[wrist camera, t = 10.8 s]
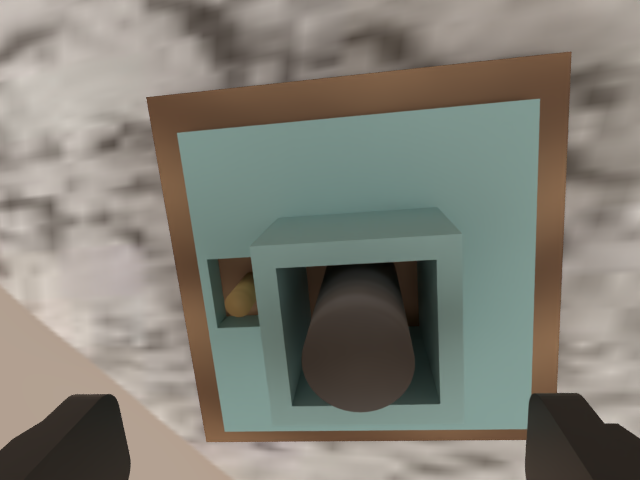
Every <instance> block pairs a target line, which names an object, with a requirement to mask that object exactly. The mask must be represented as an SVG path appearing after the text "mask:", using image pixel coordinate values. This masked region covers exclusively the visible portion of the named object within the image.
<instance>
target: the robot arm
mask: <svg viewBox="0 0 640 480" xmlns="http://www.w3.org/2000/svg"><path fill="white" fill-rule="evenodd" d="M130 464H131V463H130V455H129V450H128V445H127V441H126V436H125V432H124V427H123V422H122V418H121V413H120V408H119V404H118V401H117V399H116V398H115V397H114V396H113V395H111V394H91V395H89V394H88V395H87V394H75V395H71V396H70V397H68V398H67V399H66V400H65V401H63V402H62V403H61V404H60V405H59V406H58V407H57V408H56V409H55V410H54V411H53V412H52V413H51V414H50V415H48V416H47V417H46V418H45V419H44V420H43V421H42V422H40V423H39V424H37V425H35V426H33V427H32V428H30V429H29V430H27V431H25V432H24V433H22V434H20V435H19V436H17V437H15V438H14V439H12V440H11V441H10V442H9V443H8V444H7V445H6V446H5V447H3V449H1V450H0V480H128V478H129V474H130ZM525 473H526V480H640V438H638V437H637V436H635V435H634V434H632V433H631V432H629V431H628V430H626V429H625V428H623V427H622V426H620V425H619V424H604V423H603V421H602V420H601V419H600V418H599V416H598V415H597V414H596V413H595V411H594V410H593V409H592V408H591V406H590V405H589V404H588V403H587V401H586V400H585V399H584V398H583V397H582V396H581V395H580V394H578V393H533V394H532V395H531V397H530V400H529V407H528V423H527V440H526V456H525Z"/></svg>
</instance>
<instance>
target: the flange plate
mask: <svg viewBox="0 0 640 480" xmlns="http://www.w3.org/2000/svg"><path fill="white" fill-rule="evenodd" d="M539 118H540V99H531V100H520V101H509V102H499V103H488V104H478V105H467V106H456V107H446V108H435V109H425V110H414V111H403V112H393V113H382V114H372V115H361V116H351V117H340V118H329V119H319V120H308V121H298V122H287V123H276V124H266V125H255V126H245V127H234V128H223V129H213V130H202V131H192V132H181V133H177V137H178V143H179V149H180V155H181V162H182V168H183V174H184V180H185V187H186V193H187V199H188V205H189V212H190V218H191V224H192V230H193V237H194V243H195V249H196V255H197V261H198V268H199V274H200V280H201V286H202V293H203V299H204V305H205V311H206V318H207V324H208V330H209V336H210V343H211V349H212V355H213V361H214V367H215V374H216V380H217V386H218V392H219V399H220V405H221V411H222V417H223V424H224V430H225V432H245V431H369V430H492V429H527V423H528V407H529V400H530V397H531V387H532V354H533V320H534V286H535V253H536V219H537V185H538V152H539ZM242 257H251V262H252V270H253V278H254V285H255V293H256V301H257V308H258V315H248V316H243V317H235V316H226V311H225V304H224V298H223V291H222V284H221V277H220V271H219V264H218V259H225V258H242ZM402 261H417V280H418V307H419V326H408V328H409V332H410V337H411V342H412V346H413V351H414V357H415V370H414V375H413V378H412V381H411V383H410V385H409V387H408V388H407V390H406V391H405V393H404V394H403V395H402V396H401V397H400V398H399V399H397V400H396V401H395V402H393V403H392V404H390V405H389V406H386V407H384V408H382V409H379V410H376V411H370V412H350V411H345V410H342V409H339V408H336V407H334V406H332V405H330V404H328V403H327V402H325V401H324V400H322V399H321V398H320V397H319V396H318V395H317V394H316V393H315V392H314V391H313V390H312V389H311V387H310V386H309V384H308V382H307V380H306V378H305V376H304V373H303V368H302V350H303V346H304V343H305V339H306V336H307V332H308V329H309V326H310V322H311V310H310V300H309V290H308V280H307V270H306V267H309V266H328V265H347V264H365V263H384V262H402Z"/></svg>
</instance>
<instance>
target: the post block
mask: <svg viewBox="0 0 640 480" xmlns="http://www.w3.org/2000/svg"><path fill="white" fill-rule="evenodd" d="M570 73H571V52H564V53H554V54H545V55H536V56H526V57H517V58H508V59H499V60H489V61H480V62H471V63H461V64H452V65H443V66H433V67H424V68H415V69H406V70H396V71H387V72H378V73H368V74H359V75H350V76H340V77H331V78H322V79H312V80H303V81H294V82H285V83H275V84H266V85H257V86H247V87H238V88H229V89H219V90H210V91H201V92H192V93H182V94H173V95H164V96H154V97H146V99H147V104H148V110H149V116H150V121H151V127H152V133H153V139H154V144H155V150H156V156H157V162H158V167H159V173H160V179H161V184H162V190H163V196H164V202H165V207H166V213H167V219H168V224H169V230H170V236H171V242H172V247H173V253H174V259H175V265H176V270H177V276H178V282H179V287H180V293H181V299H182V305H183V310H184V316H185V322H186V328H187V333H188V339H189V345H190V350H191V356H192V362H193V368H194V373H195V379H196V385H197V390H198V396H199V402H200V408H201V413H202V419H203V425H204V431H205V436H206V442H278V441H428V440H527V429H492V430H369V431H245V432H225V430H224V424H223V417H222V411H221V405H220V399H219V392H218V386H217V380H216V374H215V367H214V361H213V355H212V349H211V343H210V336H209V330H208V324H207V318H206V311H205V305H204V299H203V293H202V286H201V280H200V274H199V268H198V261H197V255H196V249H195V243H194V237H193V230H192V224H191V218H190V212H189V205H188V199H187V193H186V187H185V180H184V174H183V168H182V162H181V155H180V149H179V143H178V137H177V133H181V132H192V131H202V130H213V129H223V128H234V127H245V126H255V125H266V124H276V123H287V122H298V121H308V120H319V119H329V118H340V117H351V116H361V115H372V114H382V113H393V112H403V111H414V110H425V109H435V108H446V107H456V106H467V105H478V104H488V103H499V102H509V101H520V100H531V99H540V118H539V152H538V185H537V219H536V253H535V286H534V320H533V354H532V387H531V395H532V394H533V393H557V374H558V351H559V328H560V305H561V281H562V258H563V235H564V212H565V189H566V165H567V142H568V119H569V96H570ZM218 264H219V271H220V277H221V284H222V291H223V298H224V304H225V311H226V316H235V317H243V316H248V315H258V308H257V301H256V293H255V285H254V278H253V270H252V262H251V257H242V258H225V259H218ZM306 270H307V280H308V290H309V300H310V310H311V322H310V326H309V329H308V332H307V336H306V339H305V343H304V346H303V350H302V368H303V373H304V376H305V378H306V380H307V382H308V384H309V386H310V387H311V389H312V390H313V391H314V392H315V393H316V394H317V395H318V396H319V397H320V398H321V399H322V400H324V401H325V402H327V403H328V404H330V405H332V406H334V407H336V408H339V409H342V410H345V411H350V412H370V411H376V410H379V409H382V408H384V407H386V406H389V405H390V404H392V403H393V402H395V401H396V400H397V399H399V398H400V397H401V396H402V395H403V394H404V393H405V391H406V390H407V388H408V387H409V385H410V383H411V381H412V378H413V375H414V370H415V357H414V351H413V346H412V342H411V337H410V332H409V328H408V326H419V307H418V280H417V261H402V262H384V263H365V264H347V265H328V266H309V267H306Z"/></svg>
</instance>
